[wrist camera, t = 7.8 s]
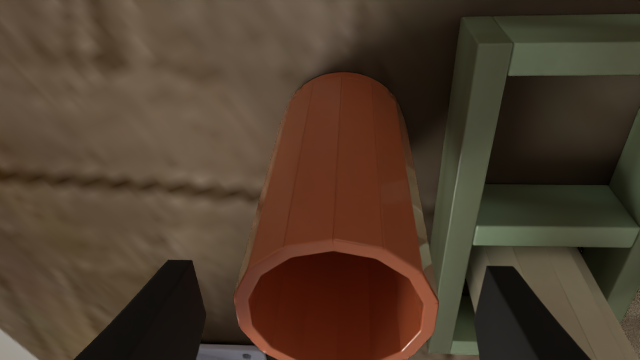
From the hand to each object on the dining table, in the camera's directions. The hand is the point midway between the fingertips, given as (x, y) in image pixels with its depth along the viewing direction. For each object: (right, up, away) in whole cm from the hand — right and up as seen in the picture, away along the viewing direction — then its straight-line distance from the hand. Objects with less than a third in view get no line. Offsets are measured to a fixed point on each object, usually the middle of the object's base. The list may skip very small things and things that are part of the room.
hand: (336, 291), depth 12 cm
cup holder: (+8, +2, +8) cm, 12 cm away
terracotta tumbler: (+1, +5, +6) cm, 8 cm away
